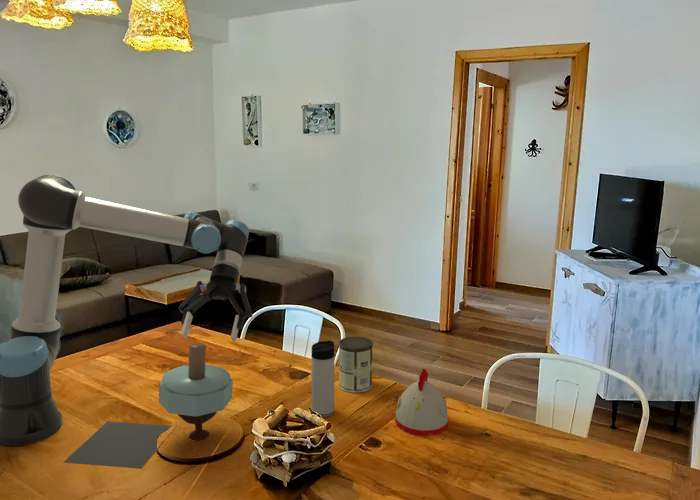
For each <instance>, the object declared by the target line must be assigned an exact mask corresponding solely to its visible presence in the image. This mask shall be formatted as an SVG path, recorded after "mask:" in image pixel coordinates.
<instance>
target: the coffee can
mask: <svg viewBox="0 0 700 500" xmlns="http://www.w3.org/2000/svg"><path fill="white" fill-rule="evenodd" d="M373 344H374V342H373V341H372V340H371V339H370V338H367V337H363V336H348V337H344V338H341V339H339V341H338V347H339V348H338V350H339V351H338V360H339V361H338V365H339V366H338V373H339V374H338V375H339V377H338V380H339V381H338V387H339V388H340V389H341V390H342V391H344V392H347V393H352V394H353V393H354V394H360V393H364V392H367V391H369V390H371V389H372V387H373V384H372V383H373V381H372V380H373Z"/></svg>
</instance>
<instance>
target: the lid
mask: <svg viewBox="0 0 700 500" xmlns="http://www.w3.org/2000/svg"><path fill="white" fill-rule="evenodd" d="M206 352H207V345H206V344H205V343H202V342H199V343H197V342H196V343H191V344H189V346H188V365H181V366H178V367H174V368H172V369H170V370H168V371H167V372H165V373H164V374H163V375H162V378H161V381H160V382H159V383H158V388H159V389H158V404H160V405H161V406H162V407H163V408H164V409H165V411H166V412H167V413H168V414H173V415H178V414H180V415H188V416H196V417H197V416H201V415H205V414H209V413H213V412H217V413H218V412H220V411H223V410H225V408H226V407H227V406H228V405H229V403H230V402H231V400H232V399H233V385H234V384H233V383H234V382H233V378H231V373H230V372H229V371H228V370H227V369H225V368H223V367H221V366H220V367H219V366H215V365H210V364H206V362H207V361H206V359H207V358H206V354H207V353H206Z"/></svg>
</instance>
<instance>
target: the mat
mask: <svg viewBox="0 0 700 500" xmlns="http://www.w3.org/2000/svg"><path fill="white" fill-rule="evenodd" d="M172 426H173V425H165V424H164V425H162V424H152V423H151V424H150V423H149V424H148V423H138V422H137V423H136V422H120V421H111V420H110V421H106V422H105V423H104V424H103V425H101V427H99V429H97V431H95V432H94V433H93V434H92V435H91V436H90V437H89V438H88V439H87V440H85V442H83V443H82V444H81V445H80V446H79V447H78V448H77V449H76V450H74V452H72V453H71V454H70V455H69V456H68V457H67V458H66V459H65V460H64V461H63V463H66V464H68V463H69V464H79V465H81V464H82V465H92V466H102V467H104V466H105V467H117V468H130V469H143V468H144V467H145V465H146V464H147V463H148V461H149V460H150V459H151V458H152V457H153V456H154V454H155V453H157V451H158V449H159V448H157V439H158V438H159V436H161V435H160V434H162V433H163V432H165V431H167V430H168V429H169V428H170V427H172Z"/></svg>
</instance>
